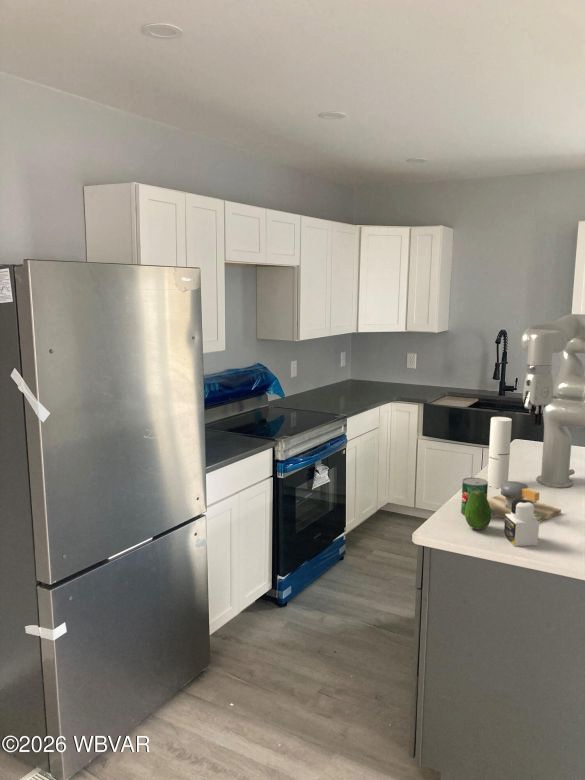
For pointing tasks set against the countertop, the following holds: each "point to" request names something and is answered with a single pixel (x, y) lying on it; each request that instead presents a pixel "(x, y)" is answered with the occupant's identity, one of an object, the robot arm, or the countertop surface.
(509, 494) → the grey paddle
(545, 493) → the countertop surface
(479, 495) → the avocado
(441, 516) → the countertop surface
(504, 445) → the cylindrical container
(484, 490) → the canned tomato
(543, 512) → the plate
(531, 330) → the robot arm
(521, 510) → the medicine bottle
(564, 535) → the countertop surface
